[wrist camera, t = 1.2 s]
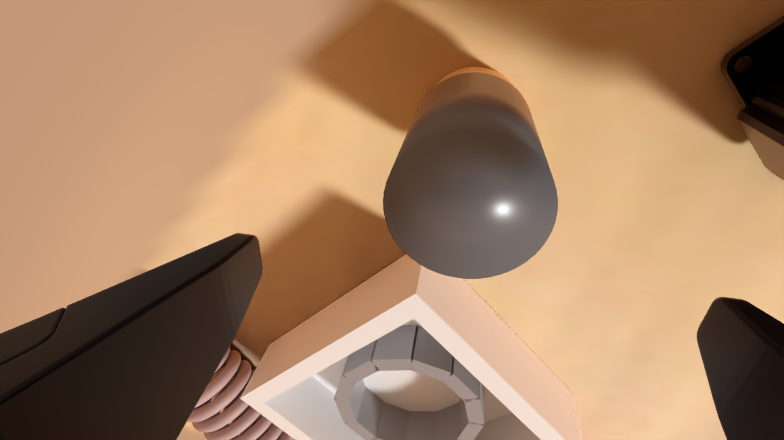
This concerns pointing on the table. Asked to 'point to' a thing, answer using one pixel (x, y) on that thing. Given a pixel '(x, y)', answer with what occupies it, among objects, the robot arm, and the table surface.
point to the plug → (471, 179)
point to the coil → (232, 406)
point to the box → (409, 369)
